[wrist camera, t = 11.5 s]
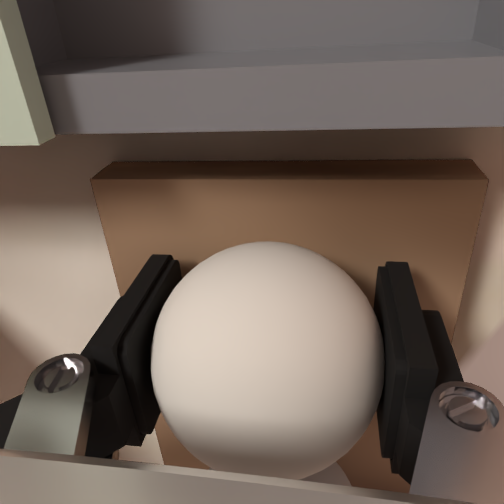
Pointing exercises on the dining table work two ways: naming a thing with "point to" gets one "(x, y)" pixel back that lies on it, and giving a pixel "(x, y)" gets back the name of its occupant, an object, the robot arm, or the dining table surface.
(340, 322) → the cream matte ball
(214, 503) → the robot arm
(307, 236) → the board
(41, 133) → the lid
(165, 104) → the bin
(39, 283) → the dining table surface
